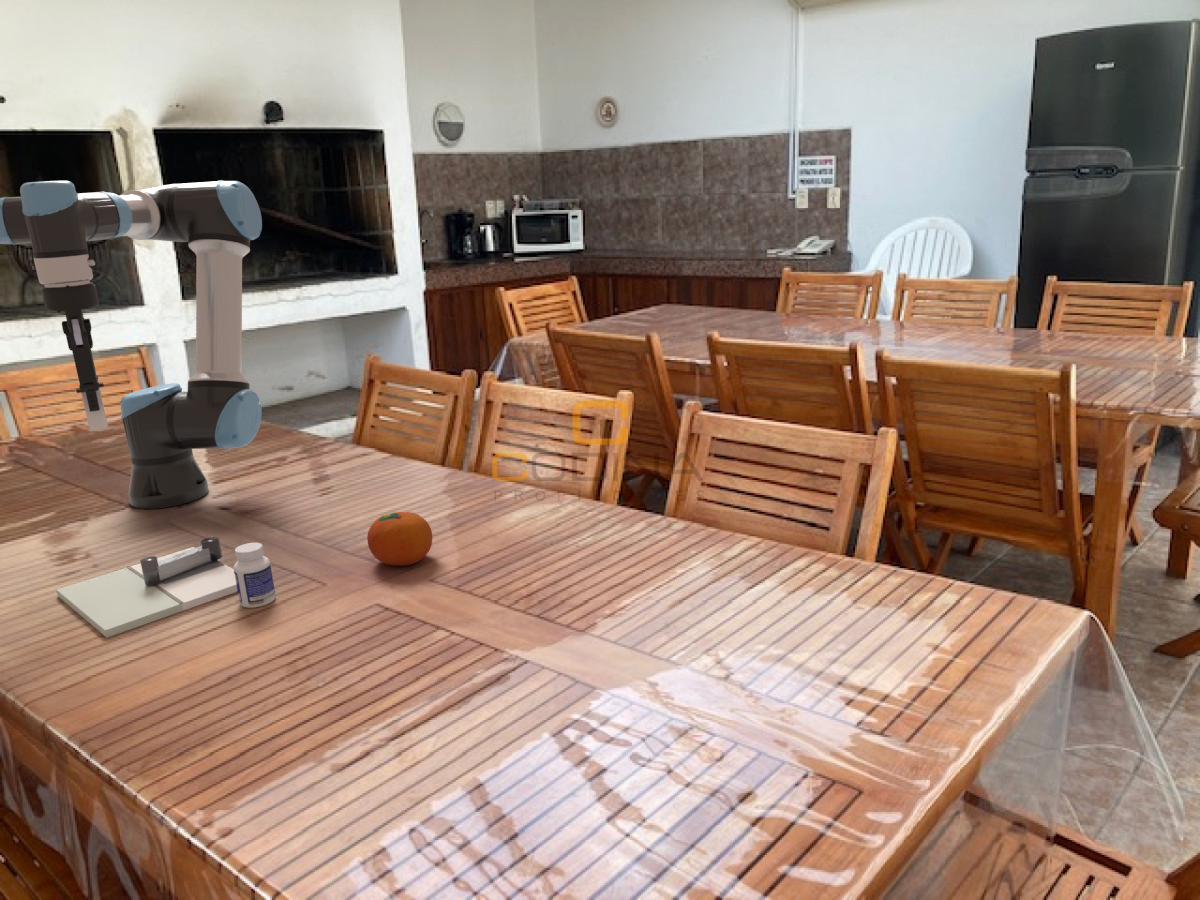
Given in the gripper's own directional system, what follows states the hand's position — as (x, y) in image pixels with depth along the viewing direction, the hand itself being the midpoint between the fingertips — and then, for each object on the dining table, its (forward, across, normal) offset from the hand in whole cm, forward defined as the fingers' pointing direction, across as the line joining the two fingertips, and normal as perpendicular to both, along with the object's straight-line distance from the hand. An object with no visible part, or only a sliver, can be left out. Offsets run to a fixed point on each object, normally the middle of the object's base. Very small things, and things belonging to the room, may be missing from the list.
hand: (98, 428), depth 153 cm
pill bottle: (+25, -28, -17) cm, 41 cm away
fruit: (+25, -26, -41) cm, 54 cm away
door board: (+24, -15, -3) cm, 29 cm away
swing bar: (+23, -12, -8) cm, 27 cm away
